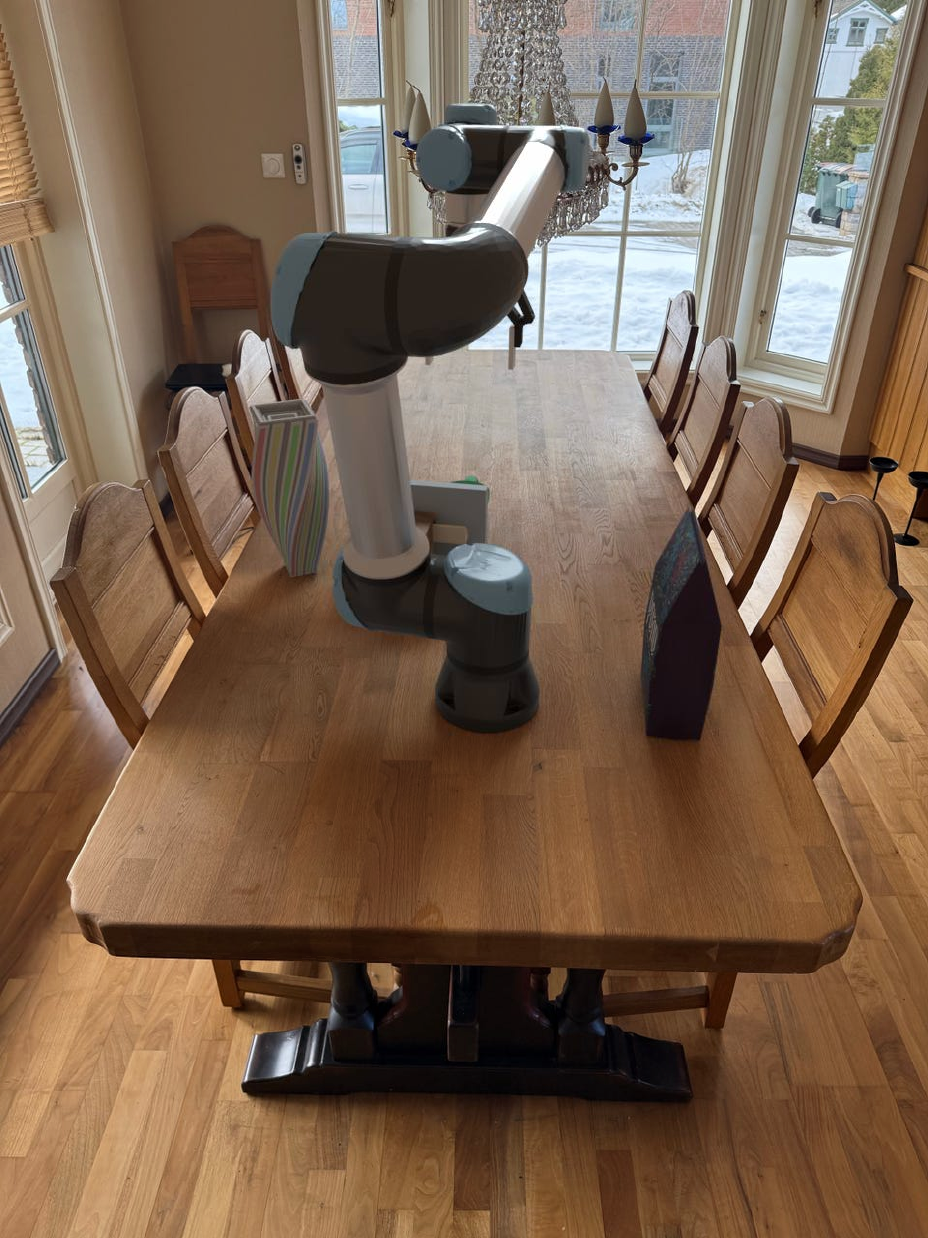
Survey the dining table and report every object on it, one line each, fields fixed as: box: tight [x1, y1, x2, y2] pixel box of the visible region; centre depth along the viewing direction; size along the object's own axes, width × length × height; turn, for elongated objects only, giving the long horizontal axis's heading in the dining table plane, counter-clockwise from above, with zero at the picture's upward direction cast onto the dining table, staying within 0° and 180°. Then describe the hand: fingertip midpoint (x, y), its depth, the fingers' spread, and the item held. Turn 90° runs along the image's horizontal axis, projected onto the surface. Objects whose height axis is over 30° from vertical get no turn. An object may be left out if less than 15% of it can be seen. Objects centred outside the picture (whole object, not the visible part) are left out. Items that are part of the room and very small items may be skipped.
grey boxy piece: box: [410, 479, 489, 556], centre depth 155 cm, size 11×24×18 cm, turn 79°
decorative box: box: [640, 507, 723, 741], centre depth 119 cm, size 8×16×28 cm, turn 173°
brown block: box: [414, 511, 436, 554], centre depth 149 cm, size 9×7×10 cm
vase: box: [248, 398, 330, 578], centre depth 152 cm, size 14×14×30 cm
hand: (470, 365), depth 142 cm, fingers open, 13 cm apart
